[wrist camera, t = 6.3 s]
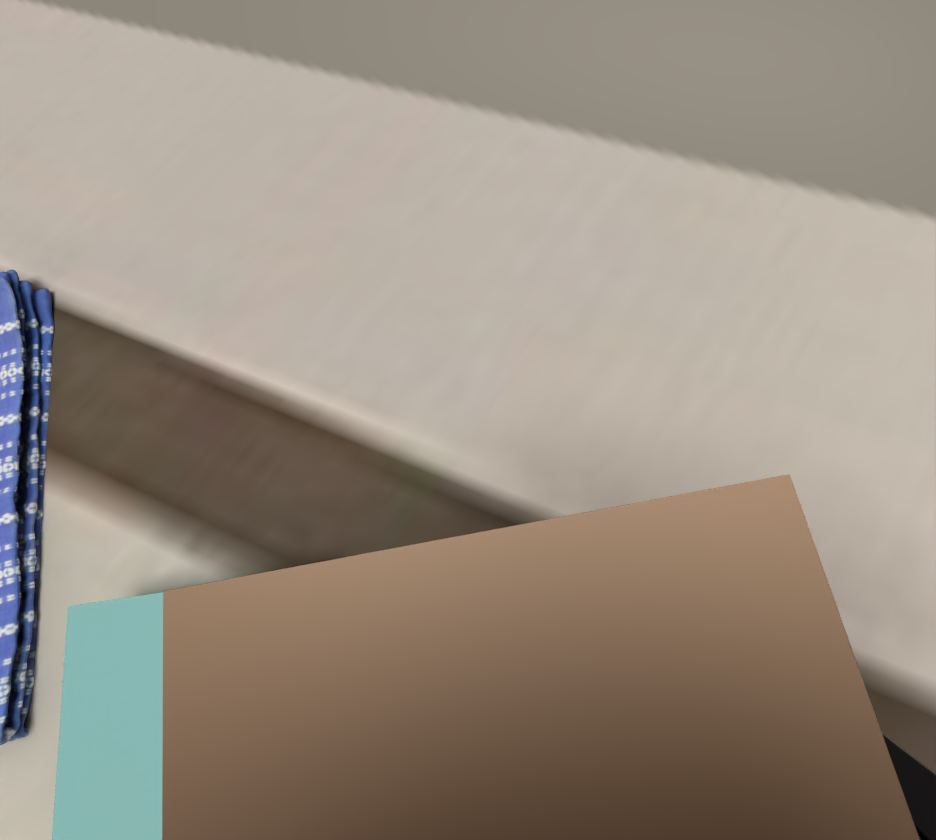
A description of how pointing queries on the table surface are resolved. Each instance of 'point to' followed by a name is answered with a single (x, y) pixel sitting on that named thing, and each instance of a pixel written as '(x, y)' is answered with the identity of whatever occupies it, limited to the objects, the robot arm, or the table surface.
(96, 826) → the teal plinth
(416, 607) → the walnut pillar
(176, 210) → the table surface
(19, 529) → the dish towel
